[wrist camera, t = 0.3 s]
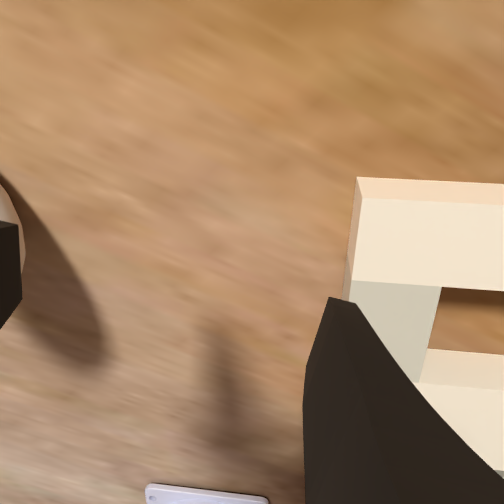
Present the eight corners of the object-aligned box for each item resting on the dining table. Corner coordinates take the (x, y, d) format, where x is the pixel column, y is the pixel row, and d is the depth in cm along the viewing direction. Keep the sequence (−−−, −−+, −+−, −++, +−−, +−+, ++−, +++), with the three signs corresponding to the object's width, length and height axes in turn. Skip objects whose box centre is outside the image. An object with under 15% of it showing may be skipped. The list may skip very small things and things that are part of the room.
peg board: (513, 534, 28) (530, 579, 25) (315, 509, 29) (315, 550, 27) (671, 192, 17) (723, 217, 15) (356, 176, 19) (362, 197, 16)
